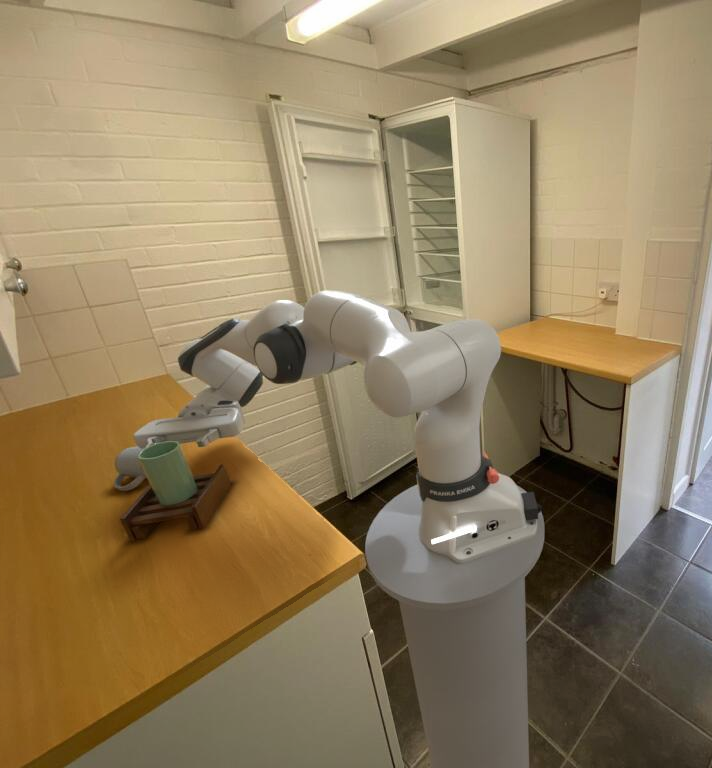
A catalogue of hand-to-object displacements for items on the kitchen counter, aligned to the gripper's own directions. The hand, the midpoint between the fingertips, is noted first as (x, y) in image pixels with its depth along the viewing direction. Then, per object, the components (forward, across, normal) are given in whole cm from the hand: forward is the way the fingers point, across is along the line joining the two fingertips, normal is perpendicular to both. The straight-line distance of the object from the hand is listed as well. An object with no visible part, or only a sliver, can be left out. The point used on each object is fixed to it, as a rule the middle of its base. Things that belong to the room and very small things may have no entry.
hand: (175, 447), depth 88 cm
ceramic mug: (-10, -15, +13) cm, 22 cm away
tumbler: (+5, 0, +8) cm, 10 cm away
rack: (+6, 0, +12) cm, 14 cm away
